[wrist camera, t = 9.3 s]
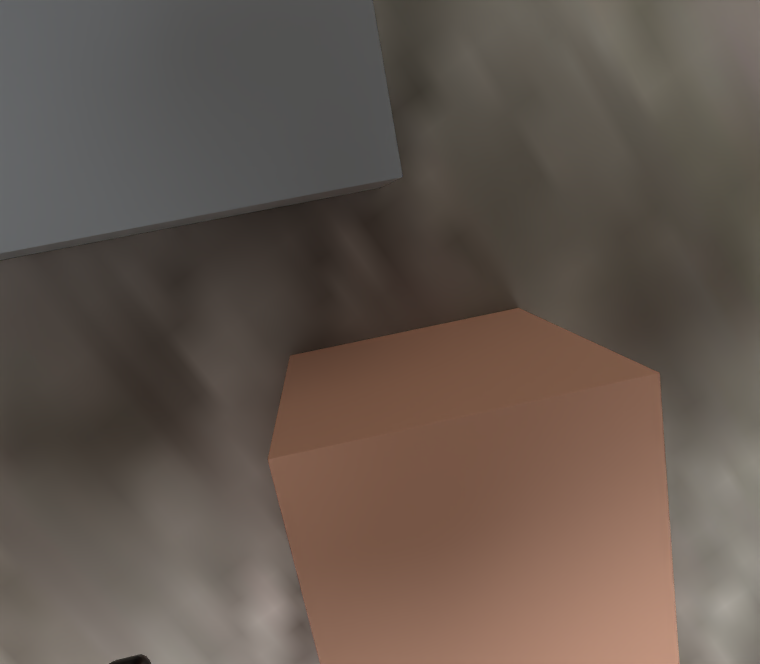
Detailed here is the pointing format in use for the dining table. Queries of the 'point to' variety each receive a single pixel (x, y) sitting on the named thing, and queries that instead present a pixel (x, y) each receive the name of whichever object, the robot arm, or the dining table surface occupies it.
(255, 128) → the slate board
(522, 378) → the terracotta cube
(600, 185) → the dining table surface
